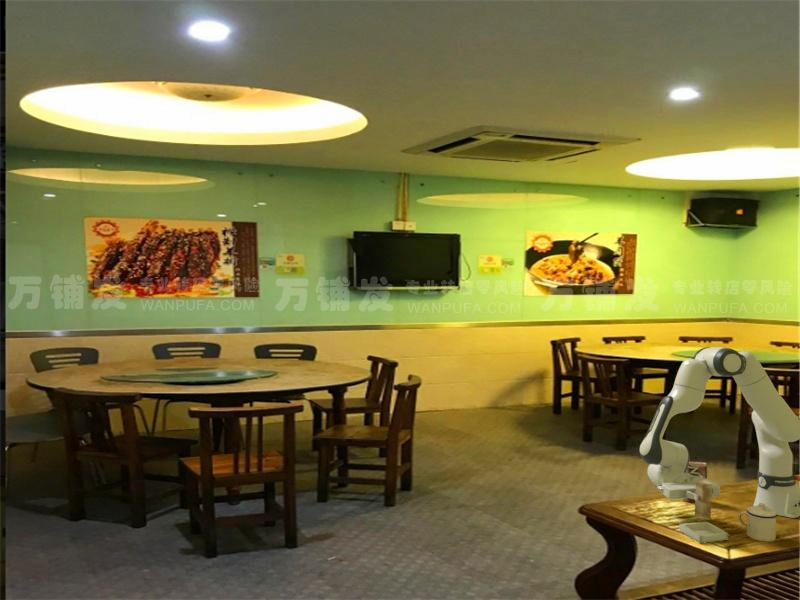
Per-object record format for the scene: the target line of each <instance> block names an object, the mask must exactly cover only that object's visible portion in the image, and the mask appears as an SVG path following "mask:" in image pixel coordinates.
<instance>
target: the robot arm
mask: <svg viewBox="0 0 800 600" xmlns="http://www.w3.org/2000/svg"><path fill="white" fill-rule="evenodd" d="M712 376H714V377H732V378H733V381H735V383H736V385H737V387H738V389H739V390H740V392H741V394H742V396H743V398H744V399H745V401H746V402H747V404H748V405H749V406H750V407H751V408H752V412H751V421H752V423H753V425H754V429H755V432H756V438H757V444H758V453H759V457H758V458H759V460H758V461H759V462H758V470H757V489H756V495H755V499H754V503H753V505H752V506H757V505H759V503H764V504H765V506H766V507H768V508H769V509H772V510H774V511H775V512H776V514H777V516H782V517H787V518H792V519H796V518H800V517H799V516H800V486H799V484H797V482H800V475H798V474H795V475H794V473H793V463H794V462H793V459H794V456H793V455H794V454H793V452H792V450H791V448H790V445H789V443H794V442H797V441H799V440H800V418H799V417H798V416H797V415H796V414H795V413H794V412H793V411H794V410H792V409H791V407H790V406H789V404H788V403H787V402H786V401H785V399H784V398H783V397H782V395H781V394H780V393H779V391H778V390H777V389H776V388H775V386H774V383H773V382H772V380H771V379H770V377H769V375H768V373H767V372H766V370H765V368H764V367H763V366H762V364H761V362H760V361H759V360H758V358H756V356H755V355H754V354H753V353H751V352H750V351H746V350H742V351H737V350H736V349H733V348H729V347H723V346H713V347H710V346H707V347H703V348H700V349H699V350H697V351H696V353H694V355H693V356H692V358H688V359H685V360H684V361H682V363H681V364H680V366H679V368H678V371H677V374H676V376H675V378H674V379H675V380H674V383H673V387H672V389H671V391H670V392H669V394H668V395H667V396H664V397H663V398H661V401H660V402H659V404H658V406H657V409H656V411H655V413H654V415H653V418H652V421H650V425H649V427H648V429H647V432H646V434H645V436H644V437H643V439H642V440H641V442H640V445H639V446H638V447H639V449H638V450H639V451H638V452H639V454H640V455H639V456H640V457H641V459H642V460H643V461H644V462H645V463H646V464H647V465H648V467H647V471H646V473H647V476H648V478H649V480H650V481H651V482H652V483H653V484H654V485H656V488H657V490H659V491H661V494H662V495H663V496H664V497H666V498H667V499H670V500H682V499H684V498H690V499H694V500H700V495H698V494H695V493H696V481H707V482H709V483H711V484H712V496H711V500H713V499H714V497H718V496H720V493H721V487H720V485H719V484H718V483H716V482H714V481H713V480H710V479H708V478H707V479H705V478H703V476H702V475H697V474H688V473H685V471H686V469H687V467H688V465H689V462H691V461H690V460H691V458H690V453H689V452H690V451H689V450H688V448H687V446H685V444H682V443H679V442H678V443H677V442H675V441H669V440H666V439H663V437H664V434H665V433H666V432H665V431H666V429H667V427H668V425H669V422H670V420H671V419H672V418H673V417H674V416H676V415H677V414H682V413H683V414H684V413H689V412H692V411H694V410H697V409H698V408H699V407H700V406H701V405H702V404H703V400H704V398H705V393H706V389H707V384H708V382H709V380H710V378H712Z"/></svg>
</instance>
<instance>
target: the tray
mask: <svg viewBox="0 0 800 600" xmlns="http://www.w3.org/2000/svg"><path fill="white" fill-rule="evenodd" d="M678 528H679V529H678V531H679V530H680V531H681V532H680V531H679V532H680V533H682V532H683V533H684V535H685V536H687V537H688V538H690V539H691V538H692V540H693V539H694V540H693V541H695V540H696V541H697V542H696V541H695V542H696V543H698V542H699V543H701V544H705V543H704V542H710V543H715V542H714V541H720V542H724V541H723V540H728V541H729V533H728V532H727V531H725V530H723V529H722V528H720V527H718V526H716V525H714V524H712V523H711V522H709V521H697V522H696V521H695V522H685V523H679V527H678ZM683 533H682V534H683ZM699 543H698V544H699Z"/></svg>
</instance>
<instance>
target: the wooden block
mask: <svg viewBox="0 0 800 600" xmlns="http://www.w3.org/2000/svg"><path fill="white" fill-rule="evenodd" d="M695 494H698V495H700V500H695V502H694V516H695V517H697V518H700V519H701V520H705V519H711V518H712V499H711V496H712V484H711V483H709V482H707V481H696V493H695Z"/></svg>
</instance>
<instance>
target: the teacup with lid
mask: <svg viewBox="0 0 800 600" xmlns="http://www.w3.org/2000/svg"><path fill="white" fill-rule="evenodd" d="M742 515H747V518H746V519H747V520H746V523H745V522H744V520H743V519H742ZM777 516H778V515H777V514H776V512H775V511H774V510H772V509H769V508H768V507H766V506H765V504H764V503H759V505H757V506H753V505H752V506H749V507H748V508H747V509H746V511H741V512H739V513H738V520H739V522H740V524H741V525H742V526H744V527H746V528H747V529H746V530H747V531H746V534H747V536H748V537H749V538H751V539H753V540H754V541H755V540H756V541H759V542H774V541H775V540H776V538H777V537H776V532H777V531H776V530H777Z"/></svg>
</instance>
